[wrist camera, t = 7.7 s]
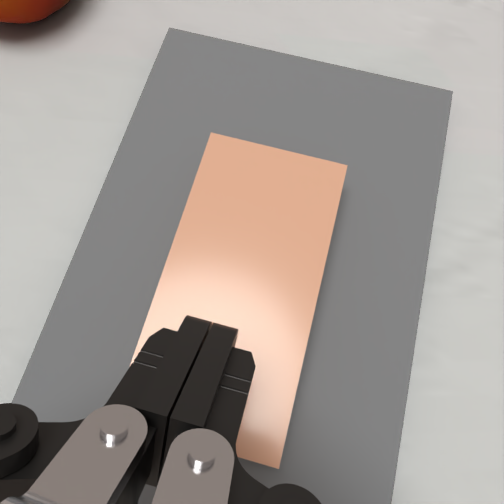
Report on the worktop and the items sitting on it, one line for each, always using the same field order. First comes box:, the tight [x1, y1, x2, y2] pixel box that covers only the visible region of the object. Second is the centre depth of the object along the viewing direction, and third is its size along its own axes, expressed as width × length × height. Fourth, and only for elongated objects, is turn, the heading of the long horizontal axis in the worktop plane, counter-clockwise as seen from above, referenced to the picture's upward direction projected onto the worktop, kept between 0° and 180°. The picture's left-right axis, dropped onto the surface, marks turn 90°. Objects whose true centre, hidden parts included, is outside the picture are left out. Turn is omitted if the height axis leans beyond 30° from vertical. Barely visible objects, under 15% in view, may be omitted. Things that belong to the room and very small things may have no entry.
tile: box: [130, 132, 348, 469], centre depth 18 cm, size 6×2×12 cm
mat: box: [12, 28, 453, 504], centre depth 20 cm, size 15×24×1 cm, turn 165°
